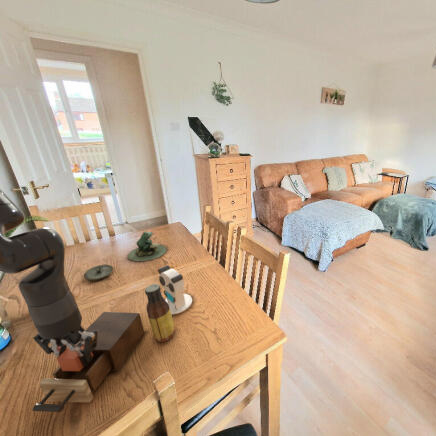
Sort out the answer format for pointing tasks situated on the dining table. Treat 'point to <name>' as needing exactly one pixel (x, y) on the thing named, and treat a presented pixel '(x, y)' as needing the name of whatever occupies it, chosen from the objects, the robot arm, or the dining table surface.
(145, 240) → the frog figurine
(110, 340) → the cabinet
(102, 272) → the lid
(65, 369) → the block
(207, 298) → the dining table surface
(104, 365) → the drawer
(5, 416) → the dining table surface
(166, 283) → the panda figurine
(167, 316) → the sauce bottle
